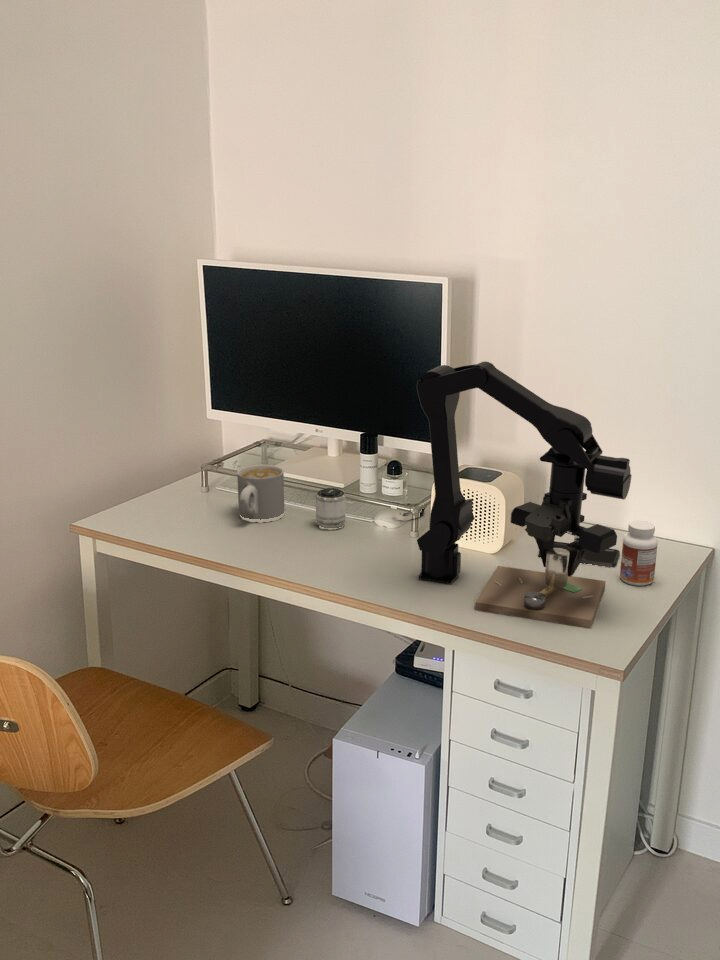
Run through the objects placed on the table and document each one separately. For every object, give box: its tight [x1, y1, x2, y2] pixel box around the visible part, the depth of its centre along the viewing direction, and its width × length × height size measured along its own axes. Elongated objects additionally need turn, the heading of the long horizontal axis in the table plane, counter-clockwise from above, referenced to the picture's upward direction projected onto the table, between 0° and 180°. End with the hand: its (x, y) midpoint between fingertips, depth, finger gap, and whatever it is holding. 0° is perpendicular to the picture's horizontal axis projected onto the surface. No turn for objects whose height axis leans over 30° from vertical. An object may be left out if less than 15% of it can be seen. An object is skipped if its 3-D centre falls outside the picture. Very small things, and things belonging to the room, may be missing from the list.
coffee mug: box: [236, 464, 285, 520], centre depth 220 cm, size 13×10×10 cm
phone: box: [538, 540, 621, 568], centre depth 201 cm, size 8×1×15 cm
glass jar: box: [315, 487, 347, 528], centre depth 216 cm, size 6×6×8 cm
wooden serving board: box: [474, 565, 606, 629], centre depth 182 cm, size 20×17×2 cm
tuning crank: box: [524, 548, 570, 609], centre depth 179 cm, size 13×4×7 cm, turn 143°
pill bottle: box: [619, 519, 659, 587], centre depth 188 cm, size 6×6×11 cm
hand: (558, 571), depth 181 cm, fingers open, 5 cm apart
